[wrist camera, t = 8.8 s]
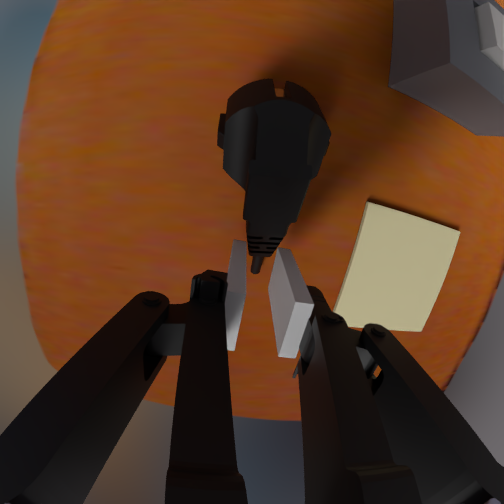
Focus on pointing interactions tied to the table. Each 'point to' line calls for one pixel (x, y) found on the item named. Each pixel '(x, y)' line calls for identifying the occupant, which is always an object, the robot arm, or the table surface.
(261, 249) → the power plug
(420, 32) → the switch box
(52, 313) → the table surface
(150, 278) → the table surface
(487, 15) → the button
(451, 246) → the pad
